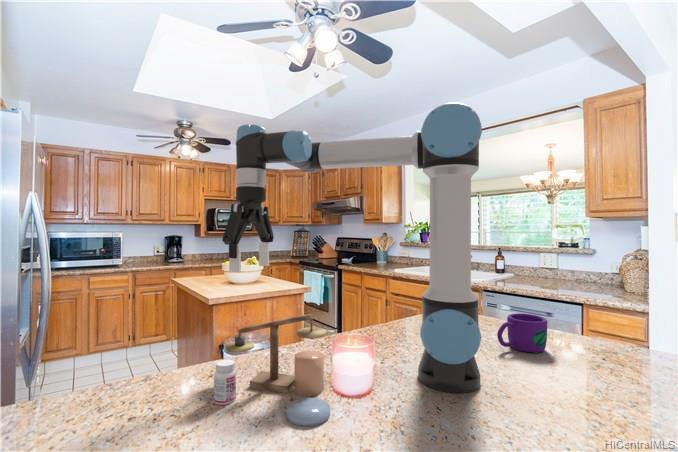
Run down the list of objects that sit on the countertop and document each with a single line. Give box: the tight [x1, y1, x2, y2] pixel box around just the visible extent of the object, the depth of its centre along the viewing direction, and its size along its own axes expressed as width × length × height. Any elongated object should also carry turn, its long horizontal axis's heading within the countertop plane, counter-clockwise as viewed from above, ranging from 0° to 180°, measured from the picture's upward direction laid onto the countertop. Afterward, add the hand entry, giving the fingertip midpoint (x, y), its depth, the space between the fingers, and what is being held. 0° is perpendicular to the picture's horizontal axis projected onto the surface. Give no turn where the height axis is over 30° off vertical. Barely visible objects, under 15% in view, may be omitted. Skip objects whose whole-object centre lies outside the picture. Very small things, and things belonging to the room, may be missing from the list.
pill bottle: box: [213, 358, 237, 406], centre depth 78 cm, size 5×5×8 cm
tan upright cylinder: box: [293, 350, 325, 397], centre depth 84 cm, size 7×7×8 cm
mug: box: [496, 312, 548, 353], centre depth 112 cm, size 17×11×10 cm, turn 109°
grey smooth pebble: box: [286, 397, 331, 428], centre depth 73 cm, size 9×9×1 cm
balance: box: [224, 313, 327, 394], centre depth 86 cm, size 26×7×18 cm, turn 73°
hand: (250, 268), depth 91 cm, fingers open, 13 cm apart
